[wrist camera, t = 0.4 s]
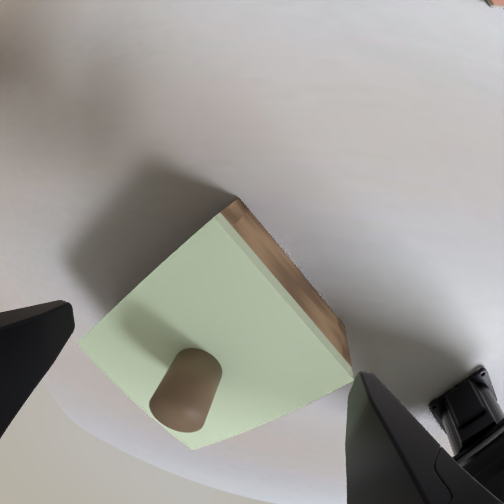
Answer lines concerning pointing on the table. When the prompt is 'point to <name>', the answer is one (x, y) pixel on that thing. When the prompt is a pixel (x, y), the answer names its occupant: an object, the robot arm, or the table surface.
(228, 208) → the walnut box
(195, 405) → the lid
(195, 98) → the table surface
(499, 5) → the notebook
